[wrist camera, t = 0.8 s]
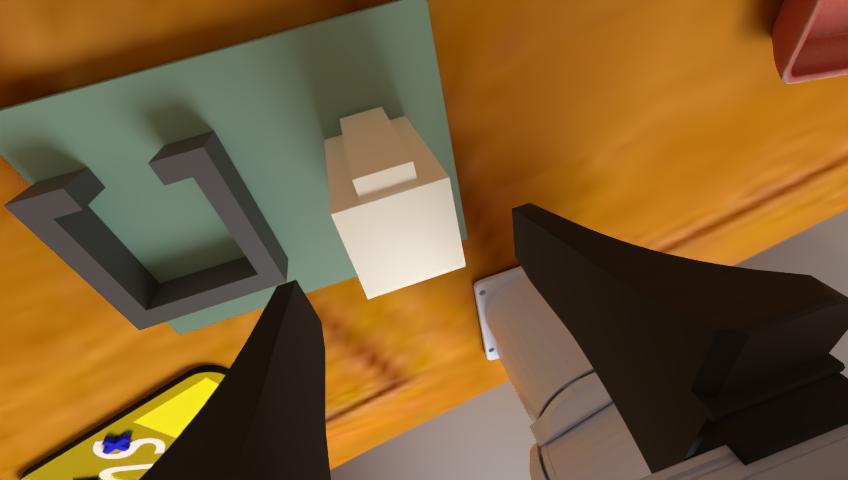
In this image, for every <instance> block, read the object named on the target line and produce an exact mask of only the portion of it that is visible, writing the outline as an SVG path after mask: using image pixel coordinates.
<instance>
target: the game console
mask: <svg viewBox="0 0 848 480" xmlns="http://www.w3.org/2000/svg"><path fill="white" fill-rule="evenodd" d="M228 371H229V369H227V368H225V367H222V366H216V365H205V366H200V367H197V368H194V369H192V370H190V371H188V372H187V373H185V374H183V375H182V376H180V377H179V378H177V379H175V380H174V381H172V382H170V383H169V384H167V385H165V386H164V387H162V388H160V389H159V390H157V391H156V392H154V393H152V394H151V395H149V396H147V397H146V398H144V399H142V400H141V401H139V402H137V403H136V404H134V405H133V406H131V407H129V408H128V409H126V410H124V411H123V412H121V413H119V414H118V415H116V416H114V417H113V418H111V419H110V420H108V421H106V422H105V423H103V424H101V425H100V426H98V427H96V428H95V429H93V430H91V431H90V432H88V433H87V434H85V435H83V436H82V437H80V438H78V439H77V440H75V441H73V442H72V443H70V444H68V445H67V446H65V447H64V448H62V449H60V450H59V451H57V452H55V453H54V454H52V455H50V456H49V457H47V458H46V459H44V460H42V461H41V462H39V463H37V464H36V465H34V466H32V467H31V468H29V469H28V470H26V471H25V472H24V474H23V475H22V477H21V479H20V480H139V479H140V478H141V477H142V476H143V475H144V474H145V473H146V472H147V471H148V470H149V469H150V468H151V466H152V465H153V464H154V463H155V462H156V461H157V460H158V459H159V458H160V457H161V455H162V454H163V453H164V452H165V451H166V450H167V449H168V448H169V447H170V445H171V444H172V443H173V442H174V441H175V440H176V438H177V437H178V436H179V435H180V434H181V432H182V431H183V430H184V429H185V428H186V426H187V425H188V424H189V423H190V422H191V420H192V419H193V418H194V417H195V416H196V414H197V413H198V412H199V411H200V409H201V408H202V407H203V406H204V404H205V403H206V401H207V400H208V399H209V397H210V396H211V395H212V393H213V392H214V391H215V389H216V388H217V387H218V385H219V384H220V382H221V381H222V379H223V378H224V377H225V375H226V374H227V372H228Z"/></svg>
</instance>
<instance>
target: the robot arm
mask: <svg viewBox="0 0 848 480" xmlns="http://www.w3.org/2000/svg"><path fill="white" fill-rule="evenodd" d="M512 216H513V230H514V243H515V256H516V258H517V260H518V261H519V263H520V265H521V266H519V267H516V268H513V269H511V270H508V271H505V272H502V273H499V274H496V275H493V276H490V277H487V278H484V279H481V280H479V281H477V282H476V283H475V284H474V293H475V298H476V304H477V310H478V315H479V321H480V327H481V332H482V338H483V344H484V349H485V355H486V357H487V359H488V360H494V359H497V358H500V360H501V362H502V364H503V366H504V368H505V370H506V372H507V374H508V376H509V378H510V380H511V382H512V384H513V386H514V388H515V390H516V392H517V394H518V396H519V398H520V400H521V402H522V404H523V406H524V408H525V409H526V412H527V413H528V415H529V417H530V418H531V420H532V421H533V422H534V423H533V424H532V425H531V426H530V428H531V430H532V432H533V434H534V436H535V439H536V441H537V443H536V444H534V445H533V446H532V448H531V450H530V475H531V479H532V480H848V378H846V377H845V376H844V375H842V374H841V373H840V372H841V371H843V370H844V368H845V366H844V364H843V363H842V362H840V361H839V360H838V359H836V358H835V357H833V356H832V355H831V354H829V352H830V351H831V350H832V348H833V347H834V346H835V345H836V343H837V342H838V341H839V340H840V338H841V337H842V336H843V335H844V333H845V332H846V331H847V330H848V297H846V296H845V295H843V294H841V293H839V292H838V291H836V290H834V289H833V288H831V287H829V286H828V285H826V284H824V283H822V282H821V281H819V280H817V279H816V278H814V277H812V276H810V275H803V274H793V273H783V272H773V271H763V270H753V269H746V268H740V267H733V266H726V265H720V264H714V263H708V262H703V261H697V260H693V259H688V258H683V257H679V256H674V255H670V254H666V253H662V252H658V251H654V250H650V249H647V248H643V247H640V246H636V245H633V244H630V243H627V242H623V241H620V240H618V239H615V238H612V237H609V236H607V235H604V234H601V233H598V232H596V231H593V230H591V229H588V228H586V227H583V226H581V225H579V224H576V223H574V222H571V221H569V220H567V219H565V218H562V217H560V216H558V215H556V214H553V213H551V212H549V211H547V210H545V209H542V208H540V207H538V206H535V205H533V204H530V203H528V204H525V205H522V206H519V207H516V208H513V209H512ZM482 290H483V291H482ZM480 291H482V292H480ZM139 480H331V476H330V468H329V459H328V449H327V439H326V425H325V346H324V337H323V331H322V324H321V321H320V319H319V317H318V315H317V314H316V312H315V310H314V309H313V307H312V305H311V304H310V302H309V300H308V298H307V297H306V295H305V293H304V292H303V290H302V288H301V287H300V285H299V283H298V282H297V280H293V281H290V282H287V283H284V284H281V285H278V286H277V287H276V289H275V291H274V292H273V294H272V296H271V298H270V300H269V302H268V303H267V305H266V307H265V309H264V311H263V313H262V315H261V316H260V318H259V320H258V322H257V324H256V326H255V327H254V329H253V331H252V333H251V335H250V336H249V338H248V340H247V342H246V343H245V345H244V347H243V348H242V350H241V351H240V353H239V355H238V356H237V358H236V359H235V361H234V363H233V364H232V366H231V367H230V369H229V371H228V372H227V374H226V375H225V377H224V378H223V379H222V381H221V382H220V384H219V385H218V387H217V388H216V389H215V391H214V392H213V393H212V395H211V396H210V397H209V399H208V400H207V401H206V403H205V404H204V406H203V407H202V408H201V409H200V411H199V412H198V413H197V414H196V416H195V417H194V418H193V419H192V420H191V422H190V423H189V424H188V425H187V426H186V428H185V429H184V430H183V431H182V432H181V434H180V435H179V436H178V437H177V438H176V440H175V441H174V442H173V443H172V444H171V445H170V447H169V448H168V449H167V450H166V451H165V452H164V453H163V454H162V455H161V457H160V458H159V459H158V460H157V461H156V462H155V463H154V464H153V465H152V466H151V468H150V469H149V470H148V471H147V472H146V473H145V474H144V475H143V476H142V477H141V478H140V479H139Z"/></svg>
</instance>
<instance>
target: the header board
mask: <svg viewBox="0 0 848 480" xmlns="http://www.w3.org/2000/svg"><path fill="white" fill-rule="evenodd" d="M381 106H382V108H383V110H384V112H385V113H386V115H387V117H388V119H389V120H393V119H396V118H399V117H403V116H406V117H407V119H408V120H409V122H410V123H411V124H412V126H413V127H414V129H415V130H416V131H417V133H418V134H419V136H420V137H421V138H422V140H423V141H424V143H425V144H426V145H427V147H428V148H429V150H430V151H431V152H432V154H433V155H434V157H435V158H436V159H437V161H438V162H439V164H440V165H441V166H442V168H443V169H444V170H445V172H446V173H447V175H448V176H449V178H450V184H451V189H452V194H453V200H454V205H455V210H456V216H457V221H458V227H459V232H460V237H461V242H462V241H465V240H468V237H467V231H466V225H465V220H464V214H463V208H462V202H461V196H460V190H459V184H458V179H457V173H456V167H455V161H454V155H453V149H452V144H451V138H450V132H449V126H448V120H447V114H446V108H445V103H444V97H443V91H442V85H441V79H440V73H439V68H438V62H437V56H436V50H435V44H434V38H433V32H432V27H431V21H430V15H429V9H428V3H427V0H395V1H391V2H387V3H384V4H380V5H376V6H373V7H369V8H365V9H362V10H358V11H355V12H351V13H347V14H344V15H340V16H336V17H333V18H329V19H325V20H322V21H318V22H314V23H311V24H307V25H303V26H300V27H296V28H293V29H289V30H285V31H282V32H278V33H274V34H271V35H267V36H263V37H260V38H256V39H252V40H249V41H245V42H241V43H238V44H234V45H230V46H227V47H223V48H220V49H216V50H212V51H209V52H205V53H201V54H198V55H194V56H190V57H187V58H183V59H179V60H176V61H172V62H168V63H165V64H161V65H157V66H154V67H150V68H147V69H143V70H139V71H136V72H132V73H128V74H125V75H121V76H117V77H114V78H110V79H106V80H103V81H99V82H95V83H92V84H88V85H85V86H81V87H77V88H74V89H70V90H66V91H63V92H59V93H55V94H52V95H48V96H44V97H41V98H37V99H33V100H30V101H26V102H22V103H19V104H15V105H12V106H8V107H4V108H1V109H0V155H1V156H2V157H3V158H4V159H5V160H6V161H7V162H8V163H9V164H10V165H11V166H12V167H13V168H14V169H15V170H16V171H17V172H18V173H19V174H20V175H21V176H22V177H23V178H24V179H25V180H26V181H27V182H28V183H29V184H30V185H31V186H30V187H29V188H27V189H26V190H25V191H23V192H22V193H21V194H19V195H18V196H16V197H15V198H14V199H12V200H11V201H10V202H8V203H7V204H5V205H4V206H5V207H6V208H7V209H8V210H9V211H10V212H11V213H12V214H14V215H15V216H16V217H17V218H18V219H19V220H20V221H21V222H22V223H23V224H24V225H26V226H27V227H28V228H29V229H30V230H31V231H32V232H33V233H34V234H35V235H36V236H37V237H39V238H40V239H41V240H42V241H43V242H44V243H45V244H46V245H47V246H48V247H49V248H51V249H52V250H53V251H54V252H55V253H56V254H57V255H58V256H59V257H60V258H61V259H62V260H64V261H65V262H66V263H67V264H68V265H69V266H70V267H71V268H72V269H73V270H74V271H76V272H77V273H78V274H79V275H80V276H81V277H82V278H83V279H84V280H85V281H86V282H88V283H89V284H90V285H91V286H92V287H93V288H94V289H95V290H96V291H97V292H98V293H99V294H101V295H102V296H103V297H104V298H105V299H106V300H107V301H108V302H109V303H110V304H111V305H113V306H114V307H115V308H116V309H117V310H118V311H119V312H120V313H121V314H122V315H123V316H124V317H126V318H127V319H128V320H129V321H130V322H131V323H132V324H133V325H134V326H135V327H136V328H138V329H139V330H142V329H145V328H148V327H151V326H154V325H157V324H160V323H163V322H167V323H168V324H169V325H170V326H171V327H172V328H173V329H174V330H175V331H176V332H177V333H178V334H179V335H182V334H185V333H188V332H191V331H194V330H197V329H200V328H203V327H206V326H209V325H212V324H215V323H218V322H221V321H224V320H227V319H230V318H233V317H236V316H239V315H242V314H245V313H248V312H251V311H254V310H257V309H260V308H263V307H266V305H267V303H268V302H269V300H270V298H271V296H272V294H273V292H274V291H275V289H276V287H277V286H278V285H281V284H284V283H287V282H290V281H293V280H297V282H298V283H299V285H300V287H301V288H302V290H303V292H304V293H308V292H311V291H314V290H317V289H320V288H324V287H327V286H330V285H333V284H336V283H339V282H342V281H345V280H348V279H351V278H354V277H357V276H358V275H357V273H356V271H355V268H354V266H353V264H352V262H351V259H350V257H349V255H348V253H347V250H346V248H345V246H344V244H343V241H342V239H341V237H340V234H339V232H338V230H337V228H336V225H335V223H334V221H333V219H332V216H331V212H330V200H329V188H328V177H327V165H326V154H325V142H324V140H326V139H329V138H332V137H336V136H339V135H342V129H341V125H340V120H339V119H341V118H344V117H347V116H351V115H354V114H358V113H361V112H364V111H368V110H371V109H374V108H378V107H381Z"/></svg>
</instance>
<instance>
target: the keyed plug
mask: <svg viewBox="0 0 848 480" xmlns="http://www.w3.org/2000/svg"><path fill="white" fill-rule="evenodd" d="M339 120H340V125H341V129H342V135H339V136H336V137H332V138H329V139H326V140H324V142H325V154H326V165H327V177H328V188H329V200H330V212H331V216H332V219H333V221H334V223H335V225H336V228H337V230H338V232H339V234H340V237H341V239H342V241H343V244H344V246H345V248H346V250H347V253H348V255H349V257H350V259H351V262H352V264H353V266H354V268H355V271H356V273H357V275H358V277H359V280H360V282H361V284H362V287H363V289H364V291H365V293H366V296H367V298H368V299H370V298H373V297H376V296H379V295H382V294H385V293H388V292H391V291H394V290H397V289H400V288H403V287H406V286H409V285H412V284H415V283H418V282H421V281H424V280H427V279H430V278H433V277H436V276H439V275H442V274H445V273H448V272H451V271H454V270H456V269H459V268H462V267H465V266H466V264H465V259H464V253H463V248H462V243H461V237H460V232H459V227H458V221H457V216H456V210H455V205H454V200H453V194H452V189H451V184H450V178H449V176H448V175H447V173H446V172H445V170H444V169H443V168H442V166H441V165H440V164H439V162H438V161H437V159H436V158H435V157H434V155H433V154H432V152H431V151H430V150H429V148H428V147H427V145H426V144H425V143H424V141H423V140H422V138H421V137H420V136H419V134H418V133H417V131H416V130H415V129H414V127H413V126H412V124H411V123H410V122H409V120H408V119H407V117H406V116H403V117H399V118H396V119H393V120H389V119H388V117H387V115H386V113H385V112H384V110H383V108H382V106H381V107H378V108H374V109H371V110H368V111H364V112H361V113H358V114H354V115H351V116H347V117H344V118H341V119H339Z"/></svg>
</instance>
